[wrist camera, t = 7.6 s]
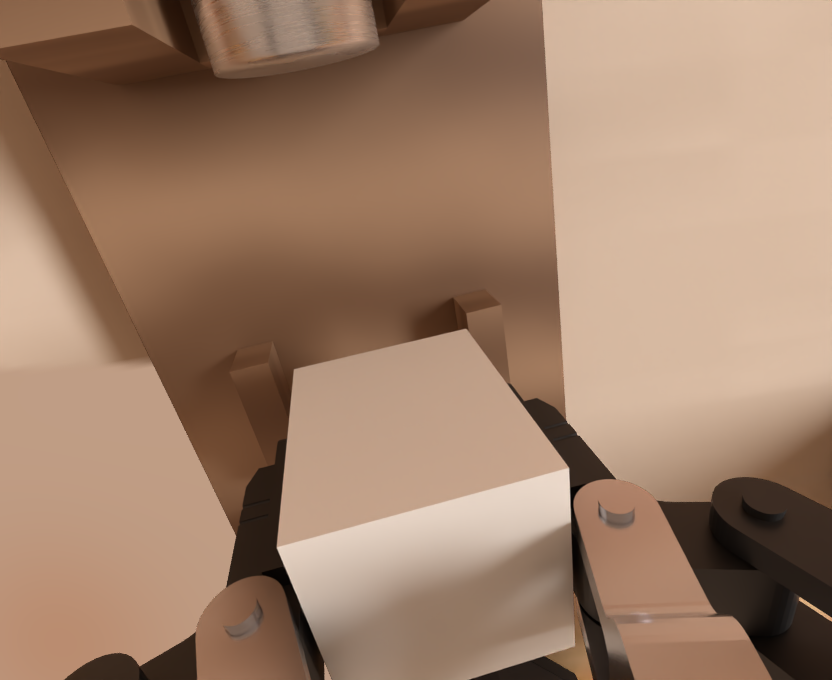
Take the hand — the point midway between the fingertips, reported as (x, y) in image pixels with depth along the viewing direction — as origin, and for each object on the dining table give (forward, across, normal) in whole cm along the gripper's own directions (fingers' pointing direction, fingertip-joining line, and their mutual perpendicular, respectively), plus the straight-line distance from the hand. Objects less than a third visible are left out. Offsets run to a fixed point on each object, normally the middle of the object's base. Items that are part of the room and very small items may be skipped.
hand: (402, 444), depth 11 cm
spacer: (+1, 0, 0) cm, 1 cm away
